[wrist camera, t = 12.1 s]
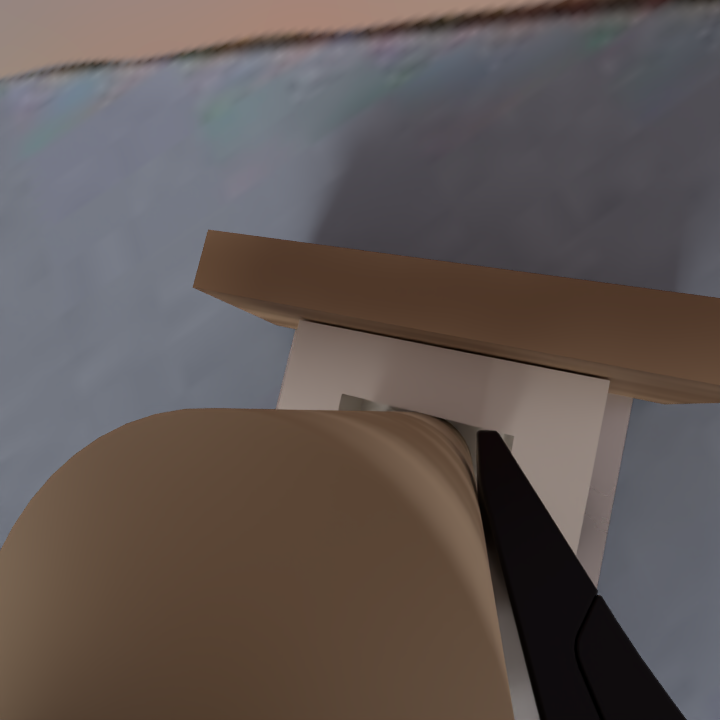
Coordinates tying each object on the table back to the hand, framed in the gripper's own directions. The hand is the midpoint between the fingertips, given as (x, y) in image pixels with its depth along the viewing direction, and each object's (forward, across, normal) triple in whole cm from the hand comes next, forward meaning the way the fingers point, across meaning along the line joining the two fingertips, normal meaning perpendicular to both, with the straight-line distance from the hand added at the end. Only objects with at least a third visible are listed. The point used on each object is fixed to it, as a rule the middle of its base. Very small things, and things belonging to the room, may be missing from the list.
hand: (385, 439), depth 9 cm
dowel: (+4, 0, +6) cm, 7 cm away
